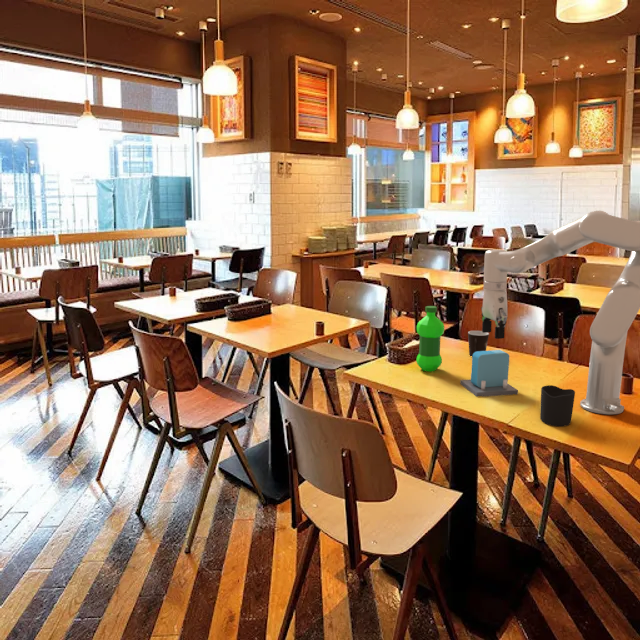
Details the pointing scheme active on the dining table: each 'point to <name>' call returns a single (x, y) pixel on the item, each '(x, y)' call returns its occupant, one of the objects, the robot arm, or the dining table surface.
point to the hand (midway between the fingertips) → (492, 335)
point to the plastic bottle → (429, 340)
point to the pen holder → (556, 405)
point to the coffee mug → (477, 341)
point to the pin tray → (489, 389)
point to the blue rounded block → (489, 368)
